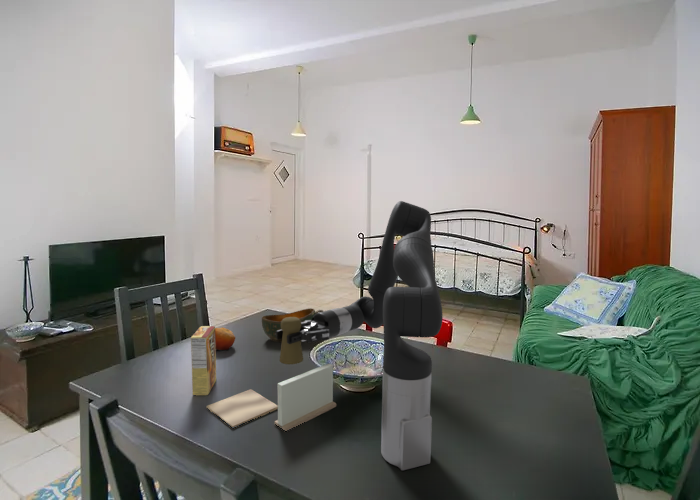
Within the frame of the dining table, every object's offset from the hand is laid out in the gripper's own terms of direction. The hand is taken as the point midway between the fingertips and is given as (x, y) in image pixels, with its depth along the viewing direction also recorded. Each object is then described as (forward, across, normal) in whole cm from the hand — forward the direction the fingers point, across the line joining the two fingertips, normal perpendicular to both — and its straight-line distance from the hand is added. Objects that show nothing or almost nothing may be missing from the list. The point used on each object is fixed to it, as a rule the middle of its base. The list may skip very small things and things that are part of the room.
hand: (282, 337), depth 100 cm
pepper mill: (-3, 0, +7) cm, 7 cm away
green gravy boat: (-27, -31, +15) cm, 44 cm away
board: (+11, -1, +15) cm, 19 cm away
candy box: (+12, -17, +15) cm, 26 cm away
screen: (+2, +12, +15) cm, 19 cm away
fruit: (-5, -39, +15) cm, 42 cm away
